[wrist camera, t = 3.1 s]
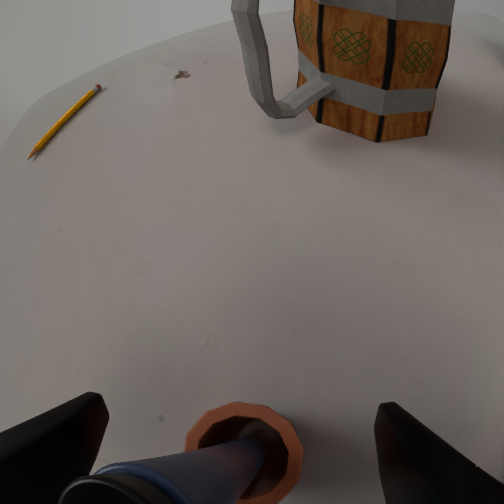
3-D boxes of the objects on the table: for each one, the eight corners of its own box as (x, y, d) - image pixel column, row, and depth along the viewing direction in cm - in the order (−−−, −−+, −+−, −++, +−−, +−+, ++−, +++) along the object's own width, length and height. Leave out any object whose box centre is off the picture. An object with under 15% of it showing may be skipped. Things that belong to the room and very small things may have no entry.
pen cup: (311, 467, 12) (321, 486, 8) (233, 496, 12) (209, 523, 8) (278, 397, 14) (274, 385, 10) (203, 426, 14) (167, 424, 10)
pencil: (102, 88, 33) (100, 84, 33) (30, 162, 27) (27, 158, 27) (98, 88, 34) (96, 84, 33) (26, 161, 28) (23, 157, 27)
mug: (358, 57, 31) (361, -59, 18) (458, 113, 24) (491, -21, 11) (210, 117, 26) (172, -44, 13) (320, 208, 20) (328, -47, 7)
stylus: (275, 456, 12) (208, 588, 1) (246, 467, 12) (82, 589, 1) (263, 431, 13) (142, 452, 2) (235, 441, 13) (31, 471, 2)
